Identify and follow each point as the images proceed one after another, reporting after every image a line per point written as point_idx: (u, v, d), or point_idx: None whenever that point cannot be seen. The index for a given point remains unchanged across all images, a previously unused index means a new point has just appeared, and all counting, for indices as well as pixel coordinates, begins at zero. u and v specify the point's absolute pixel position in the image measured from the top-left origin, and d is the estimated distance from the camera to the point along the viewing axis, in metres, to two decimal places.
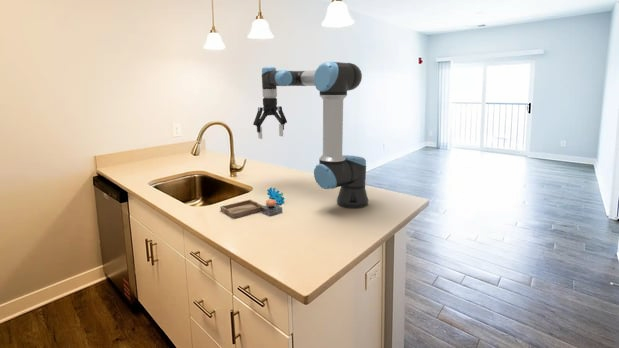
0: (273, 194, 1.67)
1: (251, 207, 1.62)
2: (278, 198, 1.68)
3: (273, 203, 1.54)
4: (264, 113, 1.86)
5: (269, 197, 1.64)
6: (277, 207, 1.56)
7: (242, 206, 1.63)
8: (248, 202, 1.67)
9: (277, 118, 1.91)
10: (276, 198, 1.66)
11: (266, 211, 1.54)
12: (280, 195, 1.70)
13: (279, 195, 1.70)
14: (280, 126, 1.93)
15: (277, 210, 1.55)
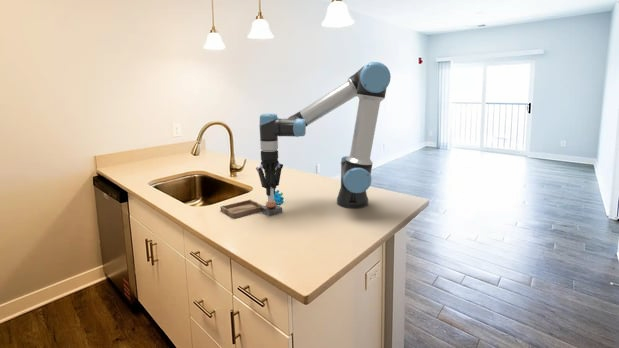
0: None
1: (251, 207, 1.62)
2: (277, 198, 1.68)
3: (273, 204, 1.54)
4: None
5: None
6: (277, 207, 1.56)
7: (242, 206, 1.63)
8: (248, 202, 1.67)
9: (271, 177, 1.54)
10: (275, 198, 1.67)
11: (266, 211, 1.54)
12: (280, 195, 1.71)
13: (279, 195, 1.70)
14: None
15: (277, 210, 1.55)
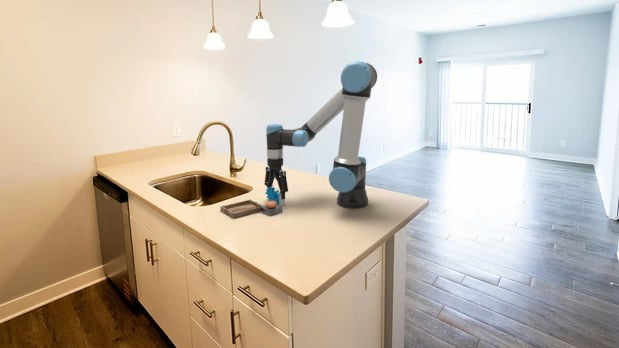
0: (272, 194, 1.68)
1: (251, 207, 1.62)
2: (277, 198, 1.68)
3: (273, 205, 1.54)
4: None
5: (267, 196, 1.65)
6: (277, 207, 1.56)
7: (242, 206, 1.63)
8: (248, 202, 1.67)
9: None
10: (274, 198, 1.67)
11: (266, 211, 1.54)
12: None
13: (278, 195, 1.70)
14: None
15: (277, 210, 1.55)
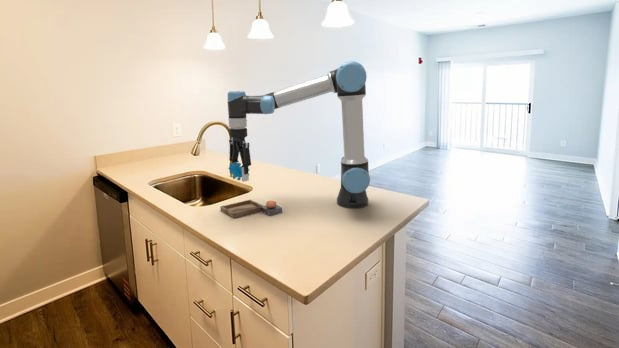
0: (236, 169, 1.53)
1: (251, 207, 1.62)
2: (241, 174, 1.53)
3: (273, 205, 1.54)
4: None
5: (230, 172, 1.50)
6: (277, 207, 1.56)
7: (242, 206, 1.63)
8: (248, 202, 1.67)
9: None
10: (238, 173, 1.52)
11: (266, 211, 1.54)
12: None
13: None
14: None
15: (277, 210, 1.55)
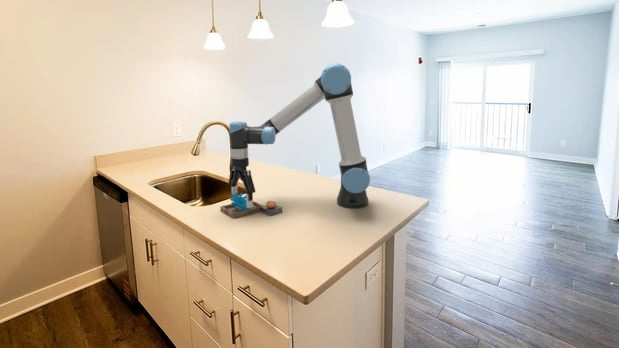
0: (237, 200, 1.57)
1: (251, 207, 1.62)
2: (243, 204, 1.57)
3: (273, 205, 1.54)
4: None
5: (231, 203, 1.54)
6: (277, 207, 1.56)
7: None
8: None
9: None
10: (240, 204, 1.56)
11: (266, 211, 1.54)
12: None
13: (245, 201, 1.59)
14: None
15: (277, 210, 1.55)
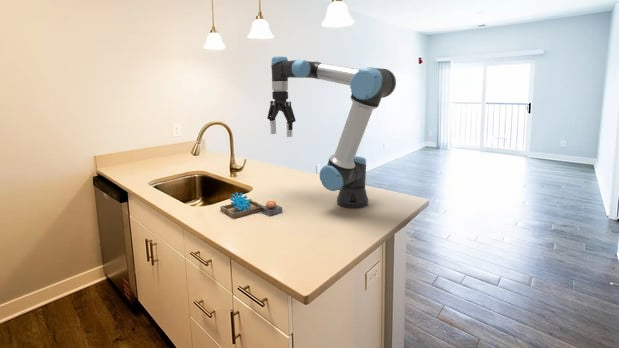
0: (237, 200, 1.57)
1: (251, 207, 1.62)
2: (242, 204, 1.57)
3: (273, 205, 1.54)
4: None
5: (231, 203, 1.54)
6: (277, 207, 1.56)
7: None
8: None
9: None
10: (240, 204, 1.56)
11: (266, 211, 1.54)
12: (246, 201, 1.60)
13: (245, 201, 1.59)
14: None
15: (277, 210, 1.55)
